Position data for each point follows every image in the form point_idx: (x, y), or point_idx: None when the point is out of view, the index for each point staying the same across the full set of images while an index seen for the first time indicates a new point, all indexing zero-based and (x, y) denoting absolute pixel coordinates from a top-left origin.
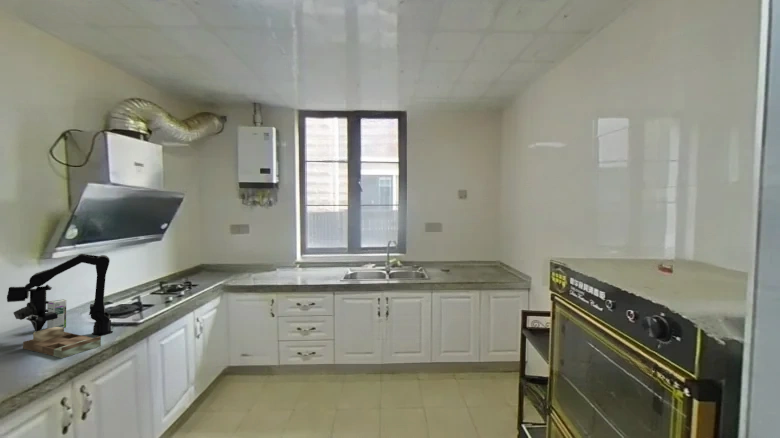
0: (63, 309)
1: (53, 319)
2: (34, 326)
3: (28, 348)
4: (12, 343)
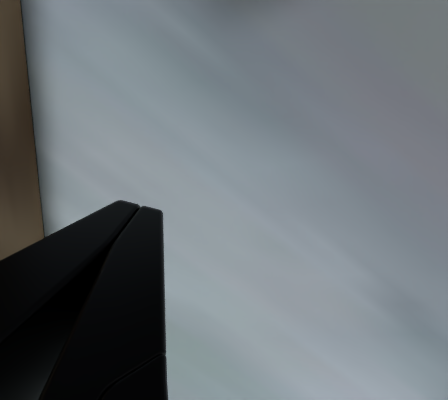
0: None
1: None
2: (79, 323)
3: None
4: None
